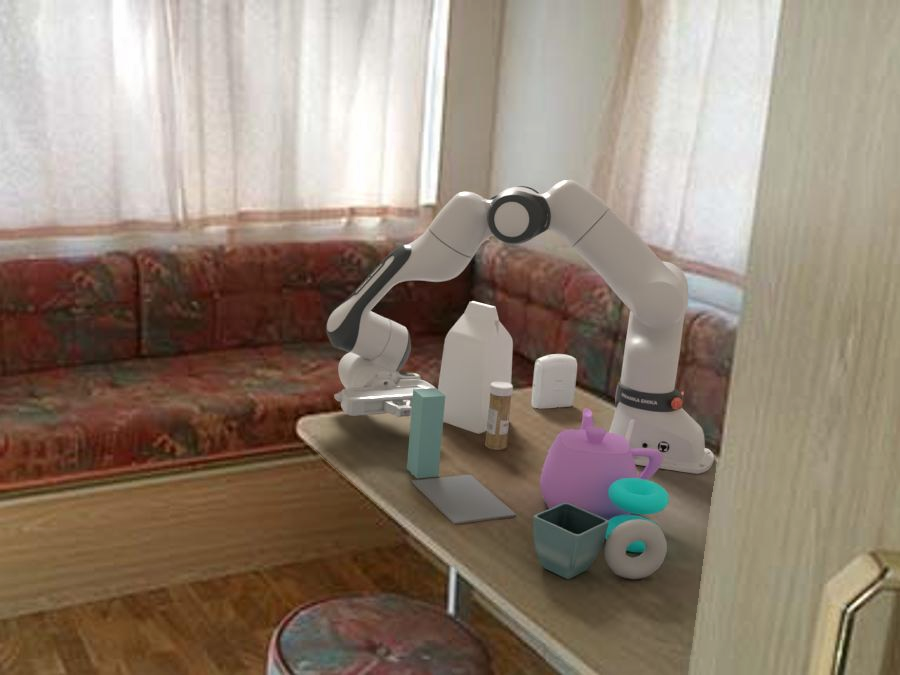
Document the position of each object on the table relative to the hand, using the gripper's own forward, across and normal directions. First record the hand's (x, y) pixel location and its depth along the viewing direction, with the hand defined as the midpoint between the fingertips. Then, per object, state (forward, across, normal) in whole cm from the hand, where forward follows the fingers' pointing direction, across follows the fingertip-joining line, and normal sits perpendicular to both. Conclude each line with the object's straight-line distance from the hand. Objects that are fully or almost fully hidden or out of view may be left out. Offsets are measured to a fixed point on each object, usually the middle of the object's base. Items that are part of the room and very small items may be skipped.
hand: (405, 412), depth 208 cm
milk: (-14, +22, +9) cm, 28 cm away
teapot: (+31, +23, +9) cm, 40 cm away
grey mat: (+23, +2, +8) cm, 24 cm away
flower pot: (+51, +6, +9) cm, 53 cm away
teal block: (+10, 0, +8) cm, 13 cm away
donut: (+57, +15, +9) cm, 60 cm away
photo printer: (-19, +45, +9) cm, 50 cm away
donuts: (+46, +23, +9) cm, 52 cm away
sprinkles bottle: (+1, +20, +9) cm, 22 cm away
